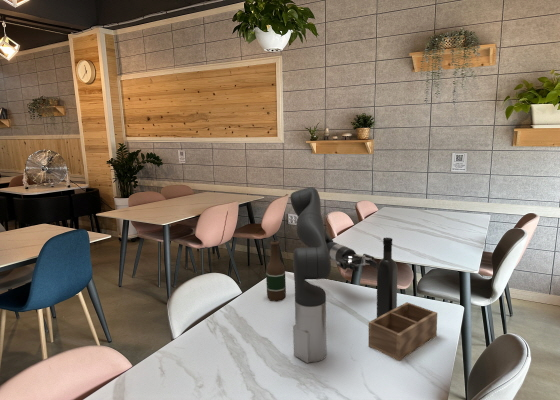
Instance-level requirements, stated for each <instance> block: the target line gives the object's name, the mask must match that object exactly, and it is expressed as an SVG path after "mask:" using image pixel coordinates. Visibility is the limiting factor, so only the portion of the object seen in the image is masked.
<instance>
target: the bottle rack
mask: <svg viewBox="0 0 560 400" xmlns="http://www.w3.org/2000/svg"><path fill="white" fill-rule="evenodd" d="M437 331H438V312H436V311H433V310H430V309H428V308H426V307H422V306H419V305H416V304H413V303H410V302H408V301H407V302H405V303H402V304H400V305H399V306H397V308H395V309H393V310H391V311H389V312H387V313H385V314H383V315H382V316H380V317H378V318H377V317H376V318H374V319H372V320H370V321H368V347H369V348H372V349H374V350H375V351H378V352H380V353H382V354H384V355H386V356H387V357H390V358H392V359H394V360H396V361H399V362H400V361H402V360H403V359H405V358H406V357H408V356H410V354H412V353H413V352H415V351H417V350H418V349H420V348H421V347H422V346H424V345H426V344H427V343H429V342H430V341H431V340H433V339H434V338H437V334H438V333H437Z"/></svg>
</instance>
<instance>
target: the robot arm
mask: <svg viewBox="0 0 560 400" xmlns="http://www.w3.org/2000/svg"><path fill="white" fill-rule="evenodd" d="M290 203H291V207H292V209H293V211H294V213H295V215H296V216H297V219H296V235H297V237H298V239H299V240H300V241H301V242H302V244H304V245H306V247H297V248H295V249H294V251H293V254H292V265H293V269H292V270H293V280H294V308H295V309H294V314H295V315H294V316H295V317H294V319H295V321H294V322H295V324H294V325H293V326H292V336H293V340H292V341H293V356H295V357H297V358H298V359H299V360H301V361H303V362H305V363H306V364H309V363H316V362H319V361H323V360H324V359H325V358H326V357H327V355H328V354H327V353H328V351H327V349H328V348H327V347H328V345H327V293H326V291H325V289H323V288H322V287H320V286H318V285H315V284H313V283H310V282H309V281H308V280H324V279H327V278H329V276H330V274H331V271H332V263H331V260H332V261H334V262H335V263H336V266H337V267H339V268H340V269H342V270H345V271H346V270H347V269H348V270H352V271H353V272H359V266H366V265H367V266H368V265H369V266H370V267H373V269H374V268H377V267H378V262H377V261H375V256H372V255H371V254H367V253H363V254H362V255H360V254H357V253H356V251H355V250H354V249H352V248H349V247H348V246H346V245H343V244H340V243H337V242H335V241H334V240H333V238H332V237H331V236H330V235H328V233H327V232H326V230H325V226H324V220H323V217H322V211H321V210H322V209H321V198H320V194H319V191H318V190H317V188H315V187H311V186H310V187H306V188H302V189H299V190H296V191H293V192H291V194H290Z"/></svg>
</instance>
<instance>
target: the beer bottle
mask: <svg viewBox="0 0 560 400" xmlns="http://www.w3.org/2000/svg"><path fill="white" fill-rule="evenodd" d="M279 244H280V242H279V241H278V240H271V241H270V243H269V245H270V257H269V259H270V260H269V262H268V263H267V265H266V268H265V269H266V271H265V275H266V277H265V278H266V280H265V281H266V297H267V299H268V300H269V301H270V302H275V303H276V302H282V301H284V300H285V298H286V297H287V286H286V284H287V283H286V281H287V280H286V267H285V265H284V263H283V261H282V260H281V255H280V245H279Z"/></svg>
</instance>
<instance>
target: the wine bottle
mask: <svg viewBox="0 0 560 400" xmlns="http://www.w3.org/2000/svg"><path fill="white" fill-rule="evenodd" d="M382 241H383V242H382V244H383V250H382V251H383V258H382V259H380V261H379V263H377V267H376V268H377V269H376V318H378V317H380V316H382V315H383V314H385V313H387V312H389V311H391V310H393V309H395V308H397V307H398V265H397V263H396V261H395V260H394V259H393V257H392V256H393V252H392V251H393V238H392V237H383V239H382Z"/></svg>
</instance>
